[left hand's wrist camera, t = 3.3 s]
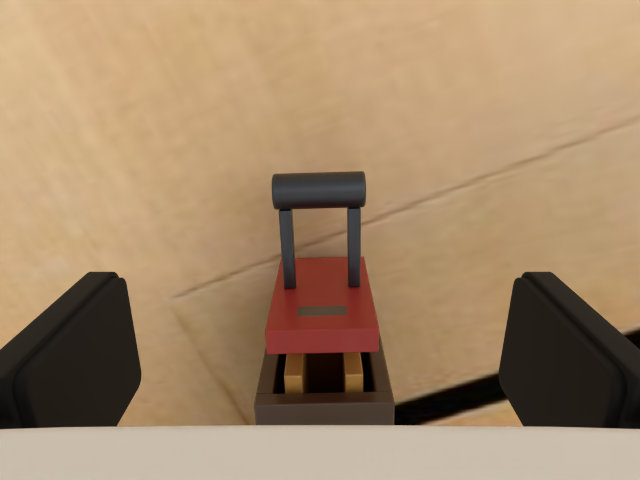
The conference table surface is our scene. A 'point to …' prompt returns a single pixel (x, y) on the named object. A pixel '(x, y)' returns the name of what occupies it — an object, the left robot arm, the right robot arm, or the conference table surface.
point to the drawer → (321, 291)
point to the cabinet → (325, 397)
